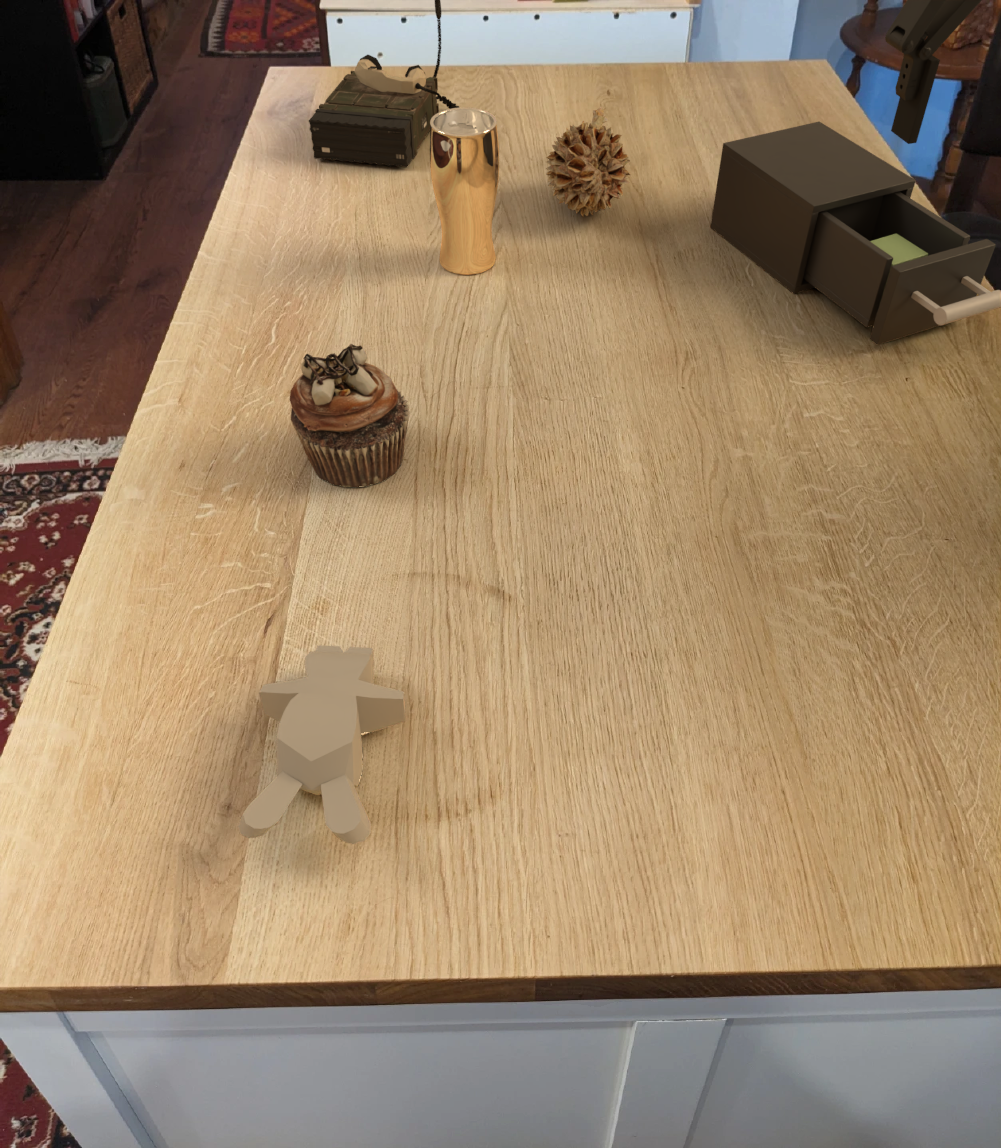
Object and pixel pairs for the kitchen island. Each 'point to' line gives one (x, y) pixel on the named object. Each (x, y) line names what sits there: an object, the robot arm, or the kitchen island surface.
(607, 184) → the pine cone
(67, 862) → the kitchen island surface
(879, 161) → the cabinet
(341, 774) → the teddy bear
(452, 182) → the beer glass
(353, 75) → the radio
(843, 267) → the drawer
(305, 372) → the cupcake
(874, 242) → the block
